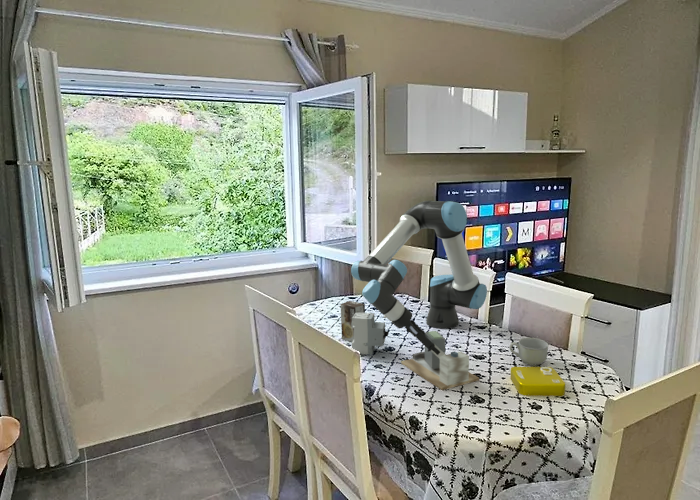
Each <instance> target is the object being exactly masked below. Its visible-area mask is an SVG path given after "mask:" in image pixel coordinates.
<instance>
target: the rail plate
mask: <svg viewBox="0 0 700 500" xmlns="http://www.w3.org/2000/svg"><path fill="white" fill-rule="evenodd" d="M400 363H401V365H403V366H404V367H406V368H407V369H409V370H410V371H412V372H413V373H414V374H416V375H418V376H419V377H421V378H423V379H424V381H427V382H428V383H430V384H432V385H433V386H435V387H436V388H437V389H439V390H441V391H444V390H448V389H452V388H455V387H459V386H463V385H467V384H470V383H475V382H479V381H480V377H478V376H477V375H475V374H473V373H471V372H470V367H469V366H470V355H469V354H467V353H464V352H463V351H451V352H450V353H448V354H446V355H443V356H440V368H435V369H432V368H431V367H430V366H429V365H428V364H427V363H426V362H425V350H424V351H420V352H416V353H415V352H414V353H412V358H409V359H405V360H401V361H400Z"/></svg>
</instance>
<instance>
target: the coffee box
mask: <svg viewBox="0 0 700 500" xmlns="http://www.w3.org/2000/svg"><path fill="white" fill-rule="evenodd" d="M339 305H340V324H341V327H340V328H341V339H342V340H343V341H344V340H345V341H348V342H351V343H352V342H353V340H354V328H352V325H351V323H352V317H353V316H354V314H355V313H366V308H365V307H366V304H365V303H362V302H357V301H352V300H349V301H345V302H343V303H340V304H339Z"/></svg>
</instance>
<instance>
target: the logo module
mask: <svg viewBox="0 0 700 500" xmlns="http://www.w3.org/2000/svg"><path fill="white" fill-rule="evenodd" d="M426 332H427V331H426ZM426 332H425V336H426V337H427V338H428V339H429V340H430V341H431V342H432V343H434V344H435V345H436V346H437V347H438V348H439V349H440V350H442V351H443V352H444V353H445V354H446V338H445V337H444V336H443V335H442V334H441V333H440V332H439V331H436V330H432V331H428V332H427V333H426ZM424 351H425V362H426V363H427V364H428V365H429V366H430V367H431V368H432V369H435V368H440V359H439V358H438V357H437V356H436V355H435V354H434V353H432V352H431V351H429V352H428V348H427V347H426V346H424Z"/></svg>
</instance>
